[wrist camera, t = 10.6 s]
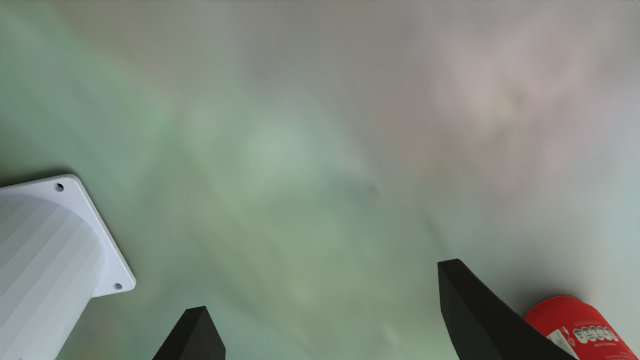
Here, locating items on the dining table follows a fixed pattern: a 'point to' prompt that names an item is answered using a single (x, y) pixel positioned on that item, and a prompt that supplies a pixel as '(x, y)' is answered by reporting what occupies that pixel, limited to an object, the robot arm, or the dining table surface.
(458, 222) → the dining table surface
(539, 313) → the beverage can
